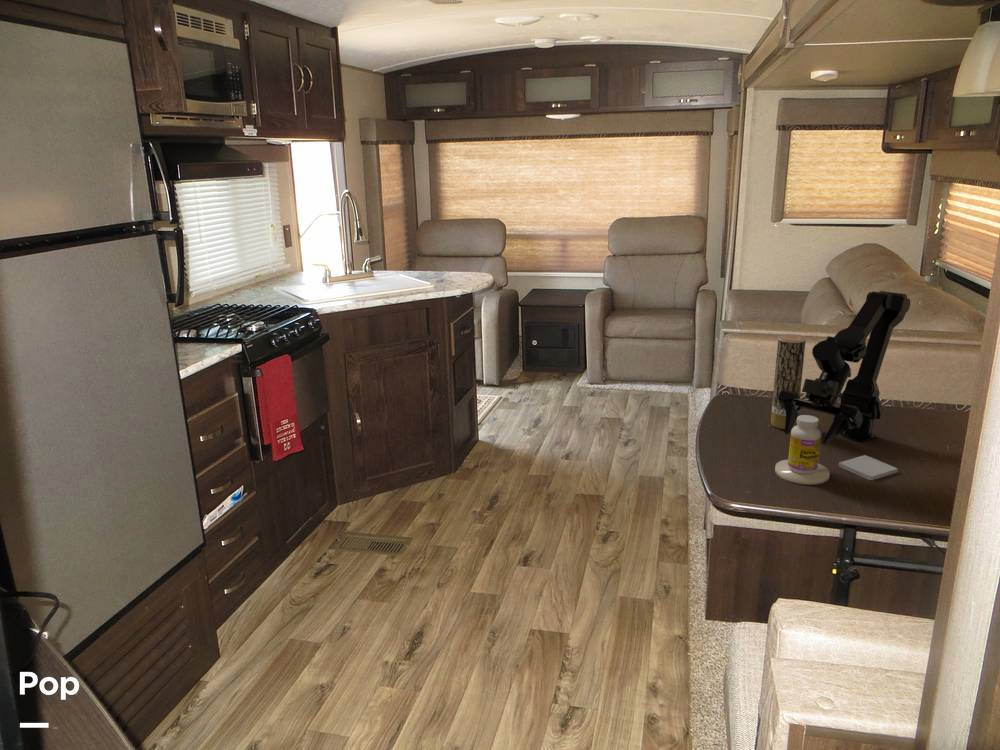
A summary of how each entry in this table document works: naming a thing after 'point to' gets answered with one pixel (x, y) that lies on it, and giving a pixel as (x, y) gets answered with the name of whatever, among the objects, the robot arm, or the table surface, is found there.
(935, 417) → the table surface
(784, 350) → the paper tube
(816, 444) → the supplement bottle
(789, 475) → the round coaster
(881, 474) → the square tile
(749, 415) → the table surface
